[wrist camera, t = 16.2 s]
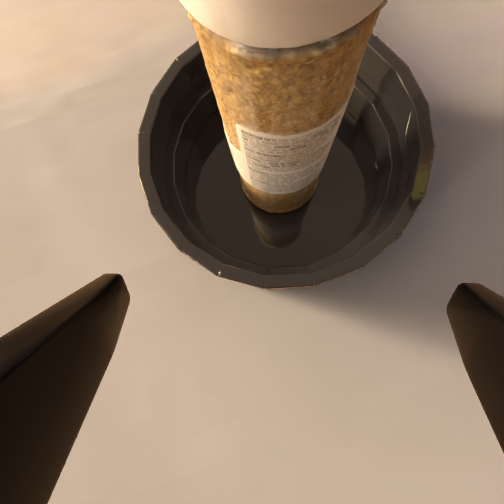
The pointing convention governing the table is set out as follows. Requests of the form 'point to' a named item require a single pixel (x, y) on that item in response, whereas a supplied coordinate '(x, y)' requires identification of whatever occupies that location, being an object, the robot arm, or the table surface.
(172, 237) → the pan
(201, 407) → the table surface
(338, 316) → the table surface
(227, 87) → the sprinkles bottle
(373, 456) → the table surface
